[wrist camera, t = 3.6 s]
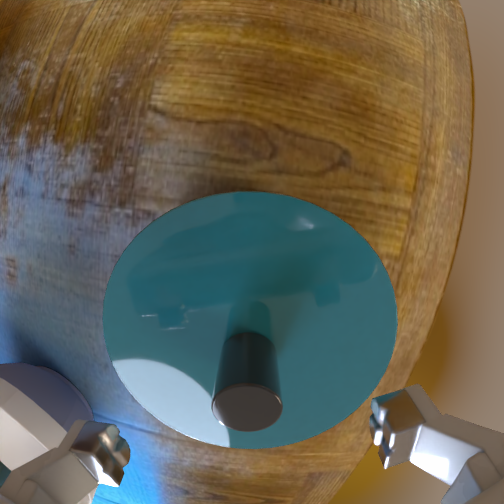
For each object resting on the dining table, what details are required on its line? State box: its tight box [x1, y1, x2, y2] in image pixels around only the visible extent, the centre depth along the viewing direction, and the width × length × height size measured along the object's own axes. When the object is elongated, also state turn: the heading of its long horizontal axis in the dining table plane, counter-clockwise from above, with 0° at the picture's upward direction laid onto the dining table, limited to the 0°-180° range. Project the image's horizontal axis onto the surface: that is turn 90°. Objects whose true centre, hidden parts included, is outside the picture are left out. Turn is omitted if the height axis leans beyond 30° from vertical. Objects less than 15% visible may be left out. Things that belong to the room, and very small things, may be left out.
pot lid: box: [102, 191, 398, 449], centre depth 11 cm, size 14×14×5 cm
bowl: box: [0, 362, 97, 504], centre depth 19 cm, size 16×16×10 cm
